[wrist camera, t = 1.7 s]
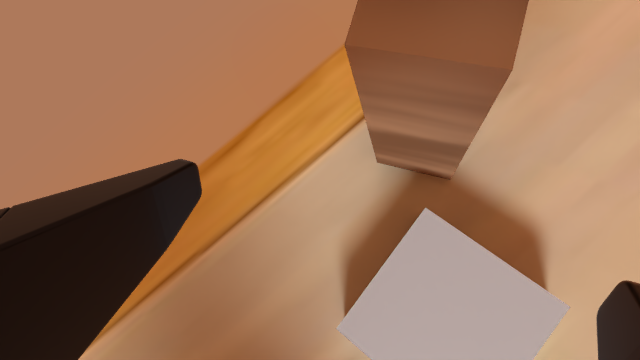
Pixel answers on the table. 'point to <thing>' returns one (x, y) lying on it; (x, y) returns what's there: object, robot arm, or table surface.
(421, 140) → the walnut block
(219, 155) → the table surface
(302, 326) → the table surface
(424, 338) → the base
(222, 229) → the table surface
